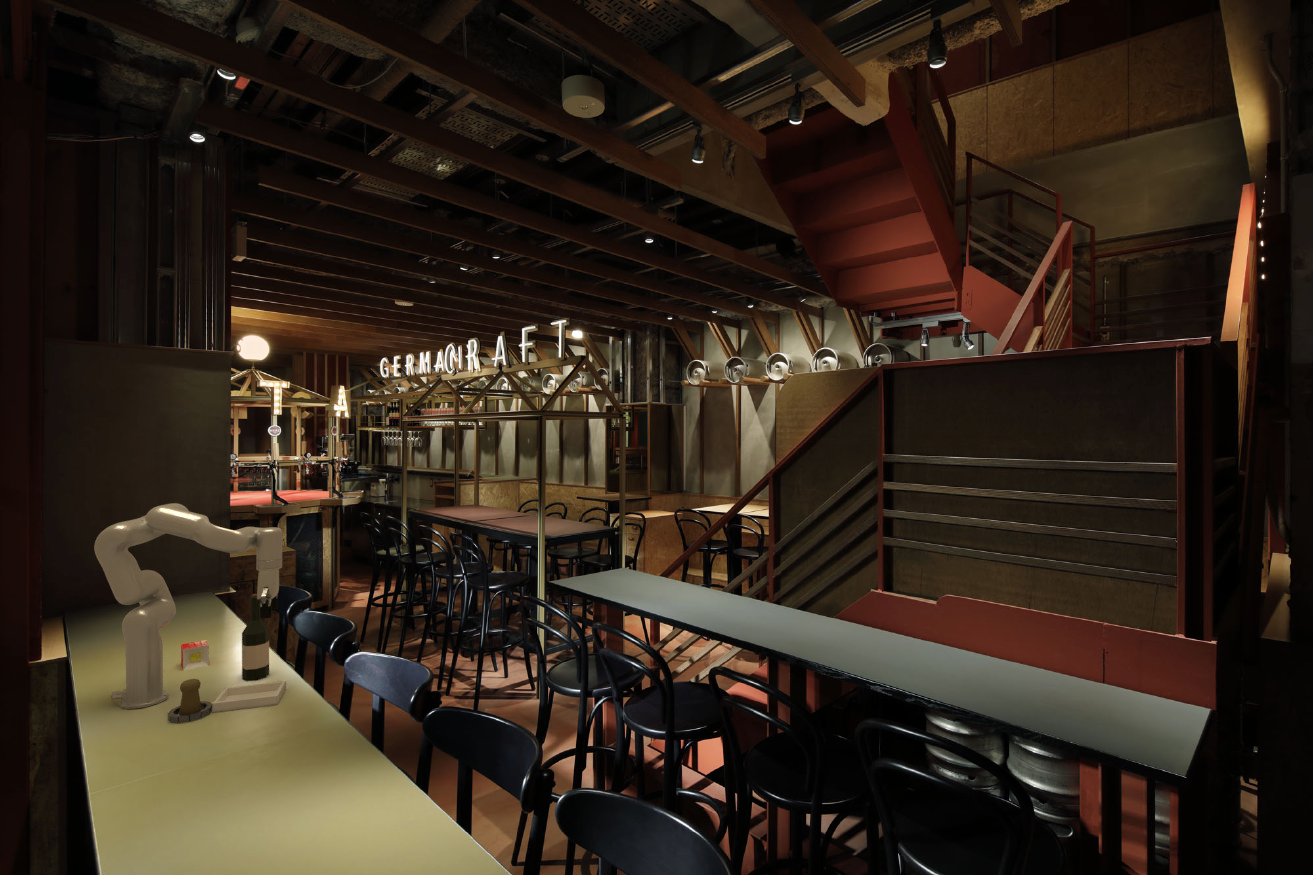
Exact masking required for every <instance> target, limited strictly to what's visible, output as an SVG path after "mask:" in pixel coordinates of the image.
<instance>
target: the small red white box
mask: <svg viewBox="0 0 1313 875" xmlns="http://www.w3.org/2000/svg"><path fill="white" fill-rule="evenodd" d="M180 658H181V659H180V660H181V661H180V665H181V668H182V669H181V670H182V671H188V670H193V669H194V670H195V669H198V668H202V667H208V666H210V644H209V642H208V640H207V639H205V640H203V639H202V640H198V641H192V642H188V643H187V642H186V643H181V644H180Z"/></svg>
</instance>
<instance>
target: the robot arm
mask: <svg viewBox="0 0 1313 875" xmlns="http://www.w3.org/2000/svg"><path fill="white" fill-rule="evenodd" d="M165 534H167V535H172V536H176V537H180V538H183V539H188V540H192V541H194V542H196V543H198V544H200V545H201V546H204V547H206V548H208V549H212V550H215V551H220V552H224V553H227V554H240V553H243V552H245V551H249V550H251V549H254V548H256V561H255V562H256V571H258V574H257V575H258V577H257V589H256V590H257V591H256V592H257V593H256V594H257V599H258V600H260V599H261V605H260V618H261V619H262V620H263V619H271V618H272V616H273V614H272V613H273V611H277V610H278V608H279V604H278V603H279V601H278V600H279V599H278V594H279V590H280V569H282V568H283V530H282V529H281V528H280V527H275V526H274V527H273V526H272V527H271V526H269V527H257V526H256V527H255V526H245V527H242V528H239V529H235V530H233V529H229V528H225V527H222V526H221V527H220V526H218V525H215V524H213V523H211V522H210V520H209V517H208V516H206V515H205V514H201V513H196V512H192V511H189V509H188V508H187V507H186V506H185V505H183V504H181V503H177V502H175V503H166V504H161V505H158V506H155V507H152V508H151V509H150V510H149V511H148V512H147V513H146V515H142V516H141V517H138V518H134V519H130V520H125V521H120V522H117V523H114V524H112V525H109V526H107V527H106V528H105V529H104V530H102V531H100V533H99V534H98V535H97V537H96V540H94V541H95V542H94V546H93V548H94V553H95V556H96V559H97V560H98V562H99V564H100V566H101V568H102V571H103V572H104V575H105V577H106V580H107V582H108V584H109V586H110V589H111V591H112V594H113V596H114V598H115V600H116V601H117V602H118V603H119V604H121V605H124V606H131V605H135V604H137V603H139V606H138V607H135V608H133V609H132V610H130V611H129V612H128V613H127V614H126V615H125V616H124V617H123V620H122V622H121V632H122V634H123V639H124V647H125V651H124V652H125V689H123V690H118V691H117V690H116V691H112V692H111V693H110V698H111V699H112V700H113V701H114V700H120V701H119V707H120V708H121V709H126V710H133V709H142V708H147V707H151V706H154V705H157V704H159V703H162V702H164V701H166V700H167V699H168V698H169V696H170V692H169V691H167V690H164V687H163V686H164V680H163V678H164V674H163V673H164V666H163V665H164V664H163V663H164V660H163V658H164V657H163V656H164V655H163V654H164V653H163V640H162V637H161V633H160V629H161V628H164V627H165V626H167V625H169V624H170V623H171V622H172V621H173V620H174V619H175V617H176V614H177V608H176V602H175V601H174V599H173V596H172V595H171V592H170V590H169V587H168V586H167V583H166V581H165V579H164V577H163V576H162V575H161V574H160V573H158V572H157V571H155V570H151V569H143V570H141V568H140V566H139V564H138V561H137V559H136V558H135V557H134V555H133V554H132V553H131V552H130V551H129V548H131V547H133V546H136V545H137V546H138V545H140V544H144V543H147V542H150V541H152V540H155V539H156V538H159V537H162V536H163V535H165Z"/></svg>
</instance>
